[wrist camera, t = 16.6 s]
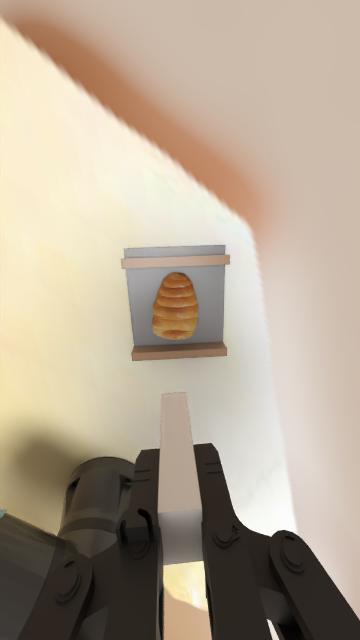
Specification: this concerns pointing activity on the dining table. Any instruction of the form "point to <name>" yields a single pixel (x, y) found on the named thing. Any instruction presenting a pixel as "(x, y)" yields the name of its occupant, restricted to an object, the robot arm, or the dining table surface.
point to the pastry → (175, 308)
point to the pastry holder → (209, 288)
